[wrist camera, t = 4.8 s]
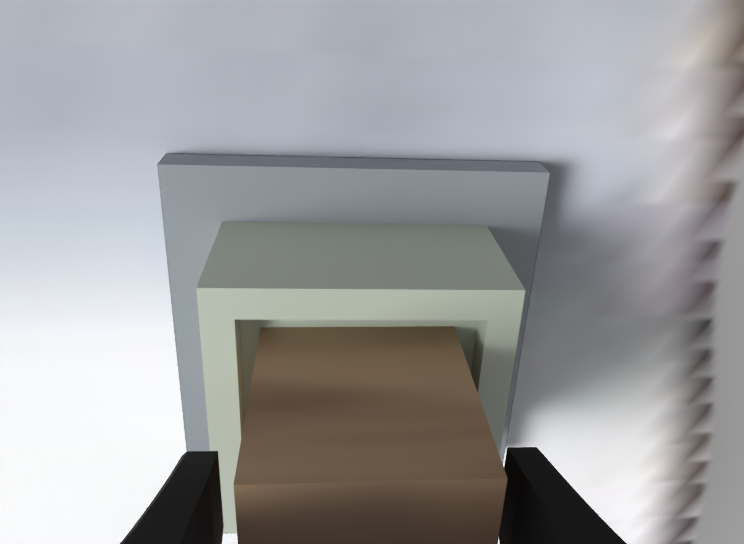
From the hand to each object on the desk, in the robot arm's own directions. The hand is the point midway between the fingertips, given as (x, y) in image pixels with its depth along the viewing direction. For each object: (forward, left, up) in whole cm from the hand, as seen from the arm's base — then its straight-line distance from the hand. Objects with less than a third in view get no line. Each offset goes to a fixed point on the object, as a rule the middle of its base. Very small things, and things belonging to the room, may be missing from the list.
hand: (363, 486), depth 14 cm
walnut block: (0, 0, -3) cm, 3 cm away
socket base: (0, 0, -7) cm, 7 cm away
